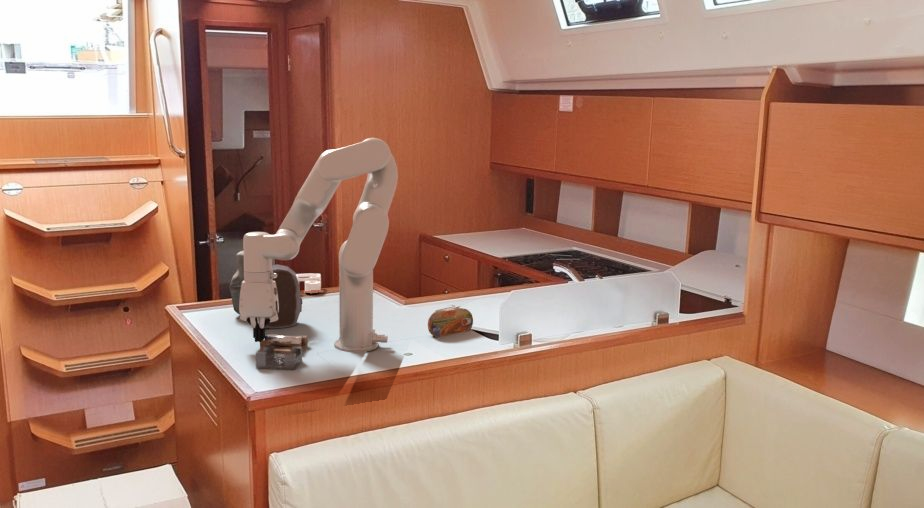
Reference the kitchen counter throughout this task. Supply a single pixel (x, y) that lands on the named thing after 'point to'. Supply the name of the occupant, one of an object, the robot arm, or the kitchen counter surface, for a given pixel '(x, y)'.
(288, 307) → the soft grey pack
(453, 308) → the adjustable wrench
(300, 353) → the V-block
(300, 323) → the kitchen counter surface
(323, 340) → the kitchen counter surface
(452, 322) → the tin
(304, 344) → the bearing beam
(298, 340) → the steel axle
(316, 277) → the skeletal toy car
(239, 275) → the detergent
